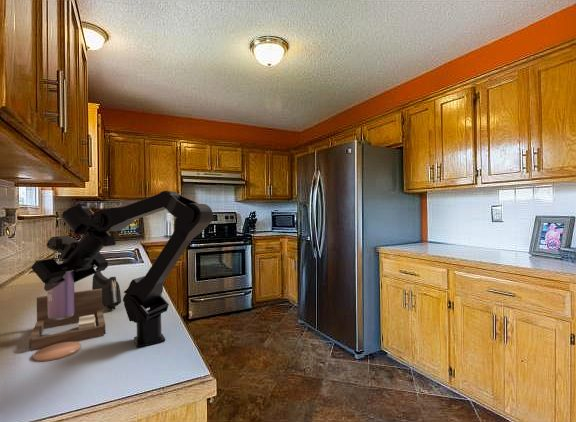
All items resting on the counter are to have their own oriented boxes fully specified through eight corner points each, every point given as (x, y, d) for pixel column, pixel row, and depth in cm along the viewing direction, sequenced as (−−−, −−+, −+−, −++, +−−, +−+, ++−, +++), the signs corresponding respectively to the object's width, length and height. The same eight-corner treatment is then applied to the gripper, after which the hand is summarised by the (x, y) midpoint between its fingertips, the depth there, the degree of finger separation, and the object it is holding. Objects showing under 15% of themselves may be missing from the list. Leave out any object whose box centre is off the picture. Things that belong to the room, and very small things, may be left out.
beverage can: (78, 315, 86) (77, 261, 86) (53, 322, 81) (52, 264, 81) (68, 312, 89) (67, 260, 89) (43, 318, 84) (42, 263, 84)
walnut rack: (105, 335, 83) (105, 301, 83) (28, 351, 74) (27, 313, 74) (102, 316, 98) (101, 288, 98) (37, 328, 90) (37, 297, 90)
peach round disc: (80, 353, 72) (80, 351, 72) (30, 365, 67) (30, 362, 67) (81, 341, 80) (81, 338, 80) (36, 350, 75) (36, 347, 75)
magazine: (90, 273, 127) (106, 258, 106) (99, 271, 129) (117, 257, 108) (93, 315, 123) (111, 309, 102) (103, 313, 126) (122, 307, 104)
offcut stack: (96, 335, 84) (96, 322, 84) (78, 339, 81) (78, 325, 81) (95, 325, 92) (95, 312, 92) (79, 328, 90) (79, 315, 90)
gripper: (98, 224, 93) (69, 261, 96) (36, 227, 75) (2, 272, 77) (122, 250, 92) (91, 287, 94) (63, 260, 73) (28, 305, 76)
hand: (56, 287), depth 85 cm, fingers closed on beverage can, 6 cm apart
